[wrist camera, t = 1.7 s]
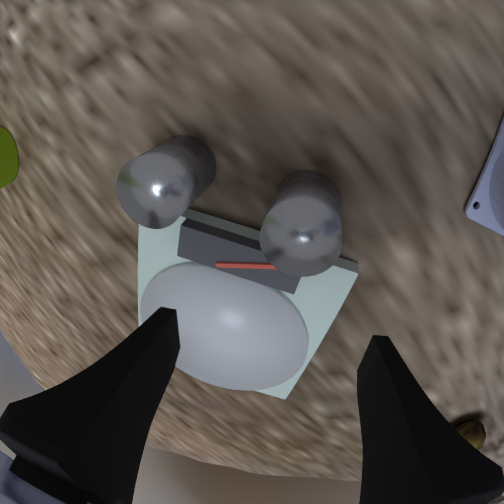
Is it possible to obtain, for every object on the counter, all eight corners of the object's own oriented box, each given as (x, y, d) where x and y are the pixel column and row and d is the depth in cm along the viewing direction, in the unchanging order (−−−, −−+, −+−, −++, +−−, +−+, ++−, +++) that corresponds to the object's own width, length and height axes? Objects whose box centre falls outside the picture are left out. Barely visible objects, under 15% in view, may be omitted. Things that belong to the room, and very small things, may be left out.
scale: (148, 196, 22) (131, 210, 20) (357, 263, 21) (359, 285, 19) (145, 342, 31) (134, 359, 29) (285, 392, 30) (281, 411, 28)
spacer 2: (285, 161, 19) (270, 192, 14) (350, 183, 18) (355, 220, 14) (268, 219, 21) (251, 262, 17) (328, 238, 21) (325, 286, 16)
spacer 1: (162, 129, 19) (118, 150, 15) (221, 143, 19) (188, 168, 15) (156, 185, 21) (115, 217, 17) (210, 200, 21) (178, 238, 17)
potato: (495, 425, 28) (503, 477, 21) (417, 460, 35) (417, 508, 28) (475, 407, 27) (484, 468, 20) (387, 447, 34) (385, 501, 27)
